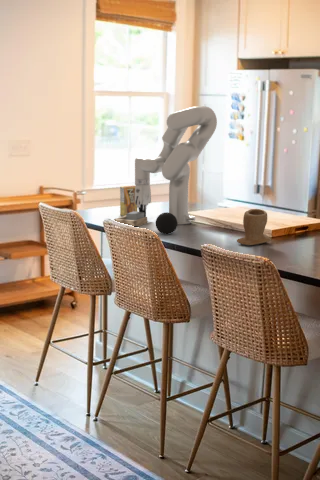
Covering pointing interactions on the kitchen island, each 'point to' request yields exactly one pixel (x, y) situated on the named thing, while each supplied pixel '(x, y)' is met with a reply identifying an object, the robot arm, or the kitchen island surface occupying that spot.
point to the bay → (132, 221)
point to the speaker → (166, 223)
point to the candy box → (127, 200)
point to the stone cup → (254, 227)
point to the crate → (134, 215)
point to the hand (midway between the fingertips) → (142, 217)
